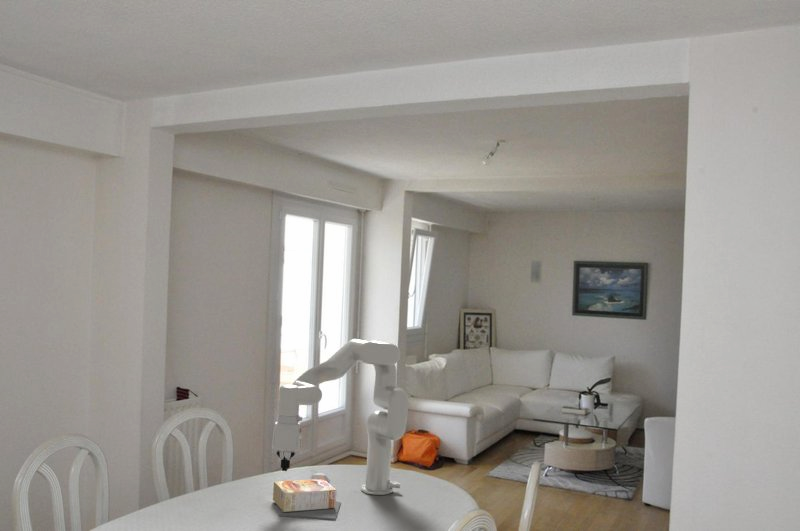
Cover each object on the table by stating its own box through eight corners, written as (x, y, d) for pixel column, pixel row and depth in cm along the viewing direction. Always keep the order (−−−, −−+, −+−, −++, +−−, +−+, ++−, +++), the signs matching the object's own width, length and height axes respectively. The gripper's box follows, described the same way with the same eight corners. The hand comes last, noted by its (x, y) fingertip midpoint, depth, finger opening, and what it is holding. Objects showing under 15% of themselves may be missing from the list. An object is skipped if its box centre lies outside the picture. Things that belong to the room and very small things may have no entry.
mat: (340, 503, 264) (340, 501, 264) (335, 520, 246) (335, 518, 246) (287, 499, 264) (287, 498, 264) (278, 516, 246) (278, 514, 246)
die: (320, 504, 272) (334, 487, 270) (301, 494, 270) (315, 476, 268) (321, 491, 280) (335, 474, 277) (303, 480, 278) (317, 463, 275)
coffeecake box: (273, 480, 261) (323, 478, 270) (272, 500, 261) (322, 496, 269) (285, 492, 248) (337, 489, 256) (283, 512, 248) (335, 508, 256)
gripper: (309, 418, 259) (307, 468, 259) (269, 416, 260) (266, 465, 260) (306, 422, 252) (303, 474, 252) (265, 420, 252) (262, 471, 252)
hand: (284, 469), depth 256 cm, fingers closed
